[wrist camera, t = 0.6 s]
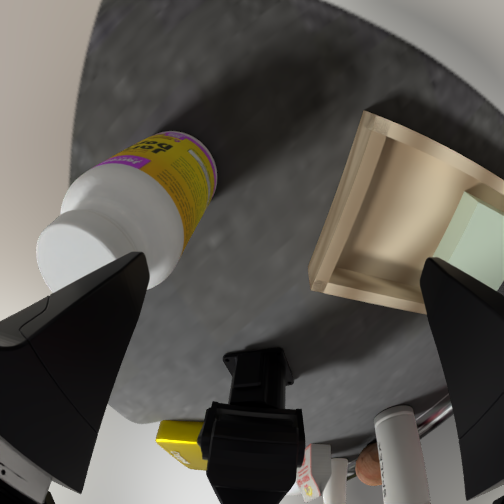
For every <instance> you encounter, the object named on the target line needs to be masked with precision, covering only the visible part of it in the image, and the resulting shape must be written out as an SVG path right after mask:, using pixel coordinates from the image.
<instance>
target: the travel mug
mask: <svg viewBox="0 0 504 504" xmlns="http://www.w3.org/2000/svg"><path fill="white" fill-rule="evenodd" d="M374 425H375V429H376V430H375V431H376V438H377V445H378V453H379V460H380V469H381V478H382V487H383V498H384V504H431V503H430V494H429V487H428V481H427V475H426V469H425V463H424V458H423V453H422V448H421V443H420V438H419V433H418V429H417V425H416V420H415V417H414V412H413V409H412V407H410V406H407V405H400V406H395V407H391V408H389V409H386V410H384V411H382V412H381V413H379V414H378V415H377V416H376V417H375V419H374Z"/></svg>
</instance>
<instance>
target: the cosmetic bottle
mask: <svg viewBox="0 0 504 504" xmlns="http://www.w3.org/2000/svg"><path fill="white" fill-rule="evenodd" d="M347 467H348V460H347V459H345V458H332V459H331V468H332V475H331V477H330V479H329V481H328V483H327V485H326V487H325V489H324V491H323V499H324V504H346V478H347Z"/></svg>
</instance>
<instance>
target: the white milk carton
mask: <svg viewBox="0 0 504 504" xmlns="http://www.w3.org/2000/svg"><path fill="white" fill-rule="evenodd" d="M331 475H332V468H331V446H330V445H324V444H310V445H309V446H308V447H307V448H305V455H304V460H303V464H302V466H301V468H297V480H296V483H297V485H298V487H299V489H300V491H301V493H302V496H303V498H304V502H309V501H311V500H313V499H315V498H318V497H320V496H322V495H323V491H324V489H325V487H326V485H327V483H328V481H329V479H330V477H331Z"/></svg>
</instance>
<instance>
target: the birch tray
mask: <svg viewBox="0 0 504 504" xmlns="http://www.w3.org/2000/svg"><path fill="white" fill-rule="evenodd" d="M464 191H465V192H467V193H469V194H471V195H473V196H475V197H477V198H479V199H481V200H482V201H484V202H486V203H488V204H490V205H492V206H493V207H495V208H497V209H499V210H501V211H502V212H504V180H502V179H501V178H499V177H498V176H496V175H494V174H493V173H491V172H490V171H488V170H486V169H485V168H483V167H481V166H480V165H478V164H476V163H475V162H473V161H471V160H470V159H468V158H466V157H464V156H462V155H461V154H459V153H457V152H455V151H453V150H451V149H449V148H448V147H446V146H444V145H442V144H440V143H438V142H436V141H434V140H432V139H430V138H428V137H426V136H424V135H421V134H419V133H417V132H415V131H413V130H411V129H408V128H406V127H404V126H402V125H399V124H397V123H395V122H392V121H390V120H388V119H385V118H383V117H380V116H378V115H375V114H372V113H370V112H367V111H363V114H362V117H361V120H360V123H359V127H358V130H357V133H356V136H355V139H354V142H353V145H352V148H351V151H350V154H349V157H348V160H347V163H346V166H345V169H344V171H343V174H342V177H341V180H340V183H339V186H338V189H337V191H336V194H335V197H334V200H333V202H332V205H331V208H330V211H329V213H328V216H327V219H326V221H325V224H324V227H323V229H322V232H321V235H320V237H319V240H318V242H317V245H316V247H315V250H314V253H313V255H312V258H311V260H310V263H309V265H308V273H309V282H310V290H312V291H317V292H321V293H326V294H330V295H335V296H339V297H344V298H349V299H353V300H358V301H363V302H367V303H372V304H377V305H382V306H387V307H391V308H396V309H401V310H406V311H411V312H416V313H421V314H426V315H427V313H426V308H425V304H424V300H423V296H422V292H421V288H420V277H421V273H422V270H423V267H424V263H425V260H426V259H427V258H428V257H432V256H433V255H434V253H435V251H436V249H437V247H438V245H439V243H440V241H441V240H442V238H443V236H444V234H445V232H446V230H447V228H448V226H449V224H450V221H451V219H452V217H453V215H454V213H455V211H456V209H457V207H458V204H459V202H460V200H461V198H462V195H463V193H464Z"/></svg>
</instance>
